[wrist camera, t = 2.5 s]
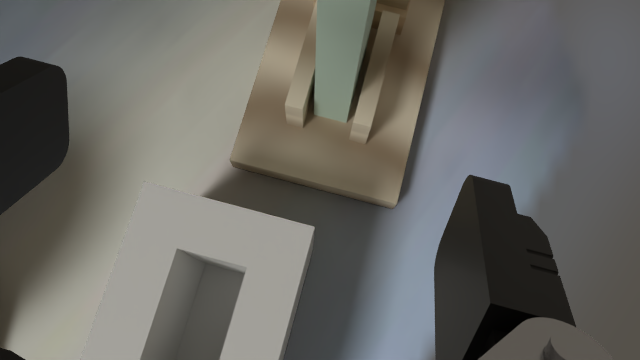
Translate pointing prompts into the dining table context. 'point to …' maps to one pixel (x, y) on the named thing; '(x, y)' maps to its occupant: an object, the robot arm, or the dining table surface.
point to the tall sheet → (340, 53)
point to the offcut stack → (395, 3)
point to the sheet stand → (201, 282)
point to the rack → (365, 113)
